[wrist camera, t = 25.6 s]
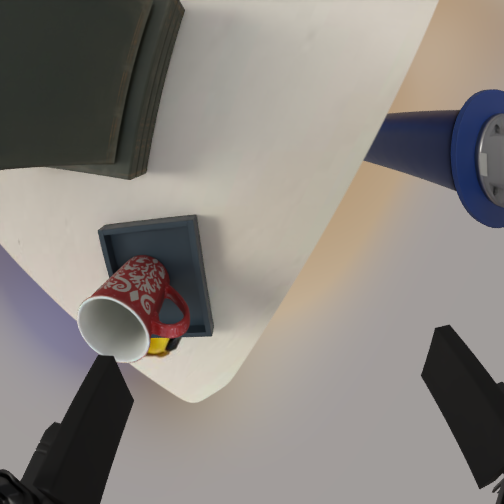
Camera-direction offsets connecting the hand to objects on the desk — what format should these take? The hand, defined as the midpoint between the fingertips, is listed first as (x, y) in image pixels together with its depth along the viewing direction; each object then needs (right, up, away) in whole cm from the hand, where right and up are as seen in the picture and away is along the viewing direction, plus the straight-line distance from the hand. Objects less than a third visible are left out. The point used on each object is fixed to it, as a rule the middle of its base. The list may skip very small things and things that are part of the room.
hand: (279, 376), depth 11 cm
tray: (-14, +1, +32) cm, 35 cm away
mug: (-15, +1, +32) cm, 35 cm away
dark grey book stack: (-22, +28, +22) cm, 41 cm away
